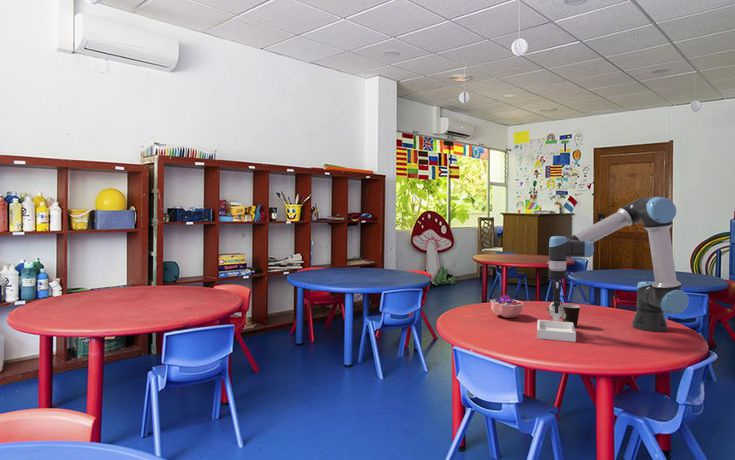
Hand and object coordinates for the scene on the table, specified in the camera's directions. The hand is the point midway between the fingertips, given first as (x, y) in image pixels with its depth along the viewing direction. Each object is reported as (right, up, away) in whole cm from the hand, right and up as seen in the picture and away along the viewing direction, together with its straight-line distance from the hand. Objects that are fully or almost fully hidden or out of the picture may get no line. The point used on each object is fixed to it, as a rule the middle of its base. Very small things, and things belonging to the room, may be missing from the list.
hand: (555, 317), depth 226 cm
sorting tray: (0, -8, 0) cm, 8 cm away
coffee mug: (+14, -7, +19) cm, 24 cm away
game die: (0, 0, 0) cm, 0 cm away
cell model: (-12, -6, +37) cm, 39 cm away
